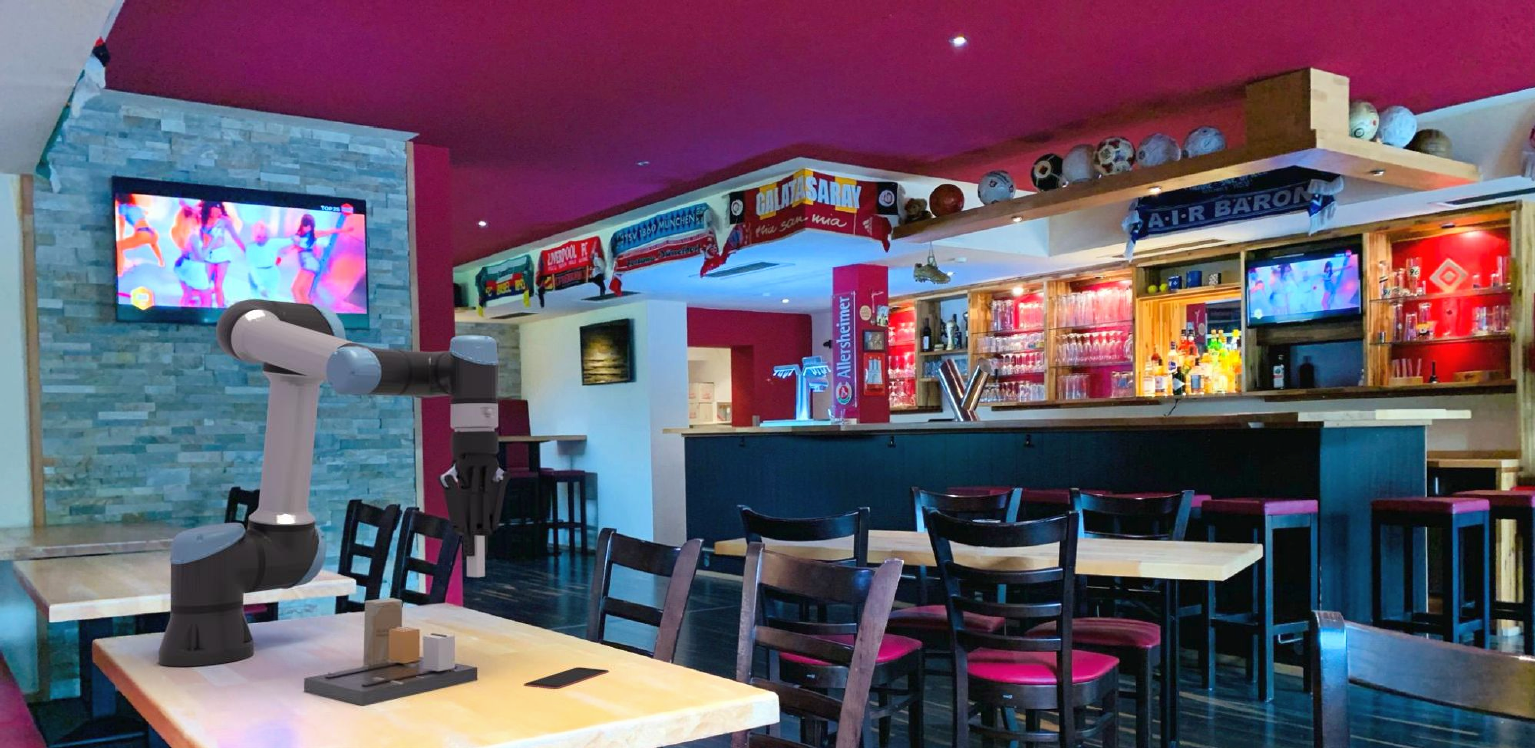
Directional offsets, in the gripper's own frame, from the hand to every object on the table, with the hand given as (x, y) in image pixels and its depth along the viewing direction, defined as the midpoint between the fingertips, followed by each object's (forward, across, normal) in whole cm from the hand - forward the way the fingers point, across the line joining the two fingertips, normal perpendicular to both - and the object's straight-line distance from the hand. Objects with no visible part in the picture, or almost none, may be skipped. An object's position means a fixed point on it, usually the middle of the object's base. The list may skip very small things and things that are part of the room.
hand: (475, 576), depth 178 cm
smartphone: (+17, +7, -14) cm, 23 cm away
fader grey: (+14, -7, 0) cm, 15 cm away
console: (+16, -12, +5) cm, 21 cm away
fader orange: (+13, -6, +10) cm, 18 cm away
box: (+16, -4, +20) cm, 26 cm away
